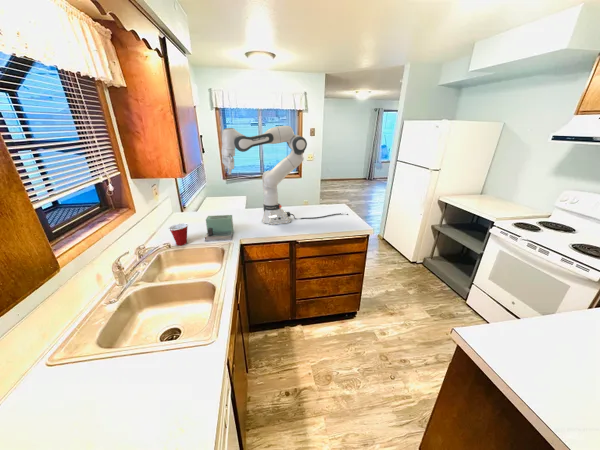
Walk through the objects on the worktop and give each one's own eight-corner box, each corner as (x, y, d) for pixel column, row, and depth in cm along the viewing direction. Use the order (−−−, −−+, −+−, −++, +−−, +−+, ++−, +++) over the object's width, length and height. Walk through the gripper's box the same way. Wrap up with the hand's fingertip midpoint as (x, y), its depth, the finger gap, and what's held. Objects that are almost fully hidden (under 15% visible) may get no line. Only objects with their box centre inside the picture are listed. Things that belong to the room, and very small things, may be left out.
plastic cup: (177, 240, 154) (174, 222, 150) (193, 240, 154) (191, 223, 149) (168, 247, 144) (164, 228, 140) (185, 247, 144) (182, 229, 139)
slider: (213, 233, 157) (212, 227, 156) (212, 235, 154) (211, 229, 153) (209, 233, 157) (208, 227, 155) (208, 235, 154) (207, 229, 152)
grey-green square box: (233, 230, 170) (232, 214, 166) (231, 239, 155) (229, 222, 151) (210, 231, 168) (208, 215, 163) (205, 241, 153) (203, 223, 149)
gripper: (237, 155, 158) (236, 176, 163) (229, 150, 174) (228, 169, 179) (227, 155, 154) (226, 176, 160) (220, 150, 170) (220, 169, 176)
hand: (227, 172), depth 169 cm, fingers open, 8 cm apart
